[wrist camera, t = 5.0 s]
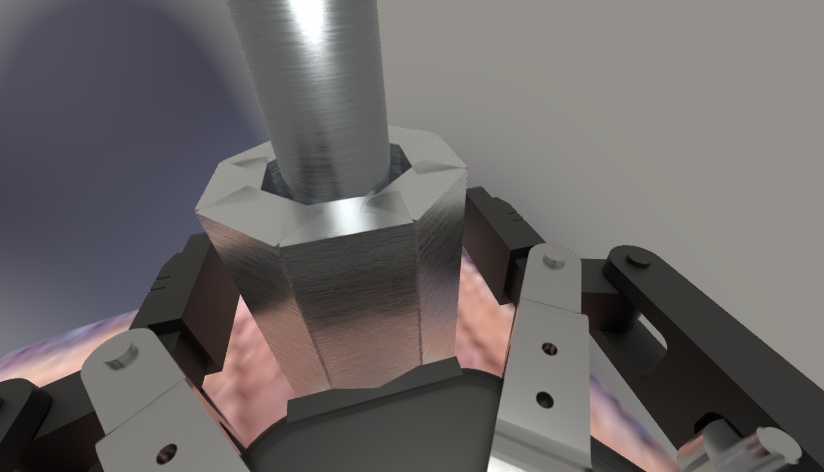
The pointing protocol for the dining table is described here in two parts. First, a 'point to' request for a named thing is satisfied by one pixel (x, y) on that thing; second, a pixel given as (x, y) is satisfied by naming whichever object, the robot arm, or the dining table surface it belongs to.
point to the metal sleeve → (346, 264)
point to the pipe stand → (319, 93)
